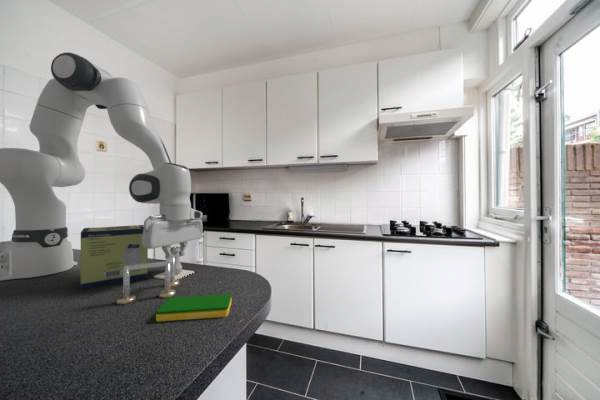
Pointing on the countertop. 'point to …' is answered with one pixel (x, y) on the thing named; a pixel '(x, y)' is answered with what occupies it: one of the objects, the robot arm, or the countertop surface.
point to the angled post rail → (168, 265)
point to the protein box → (111, 254)
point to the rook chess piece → (176, 259)
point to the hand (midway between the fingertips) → (175, 257)
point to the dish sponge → (194, 307)
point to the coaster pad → (177, 276)
